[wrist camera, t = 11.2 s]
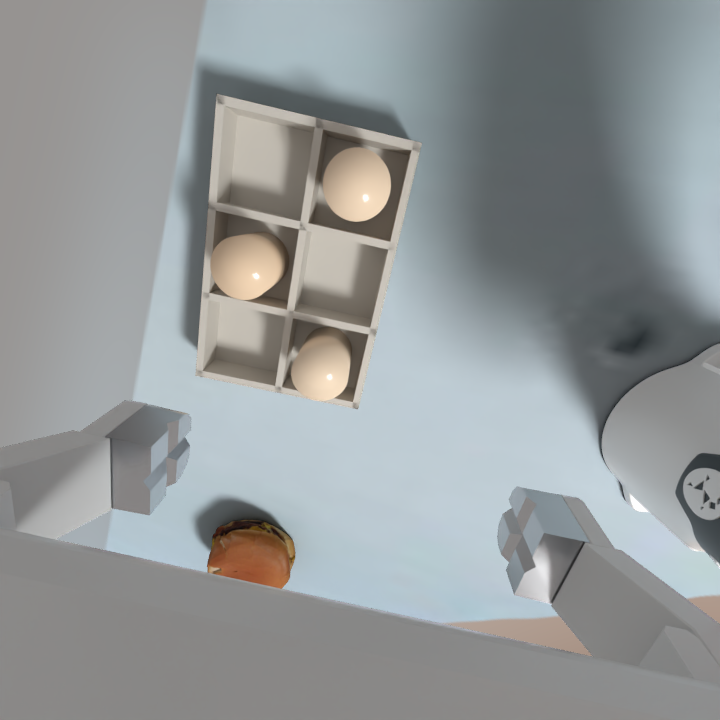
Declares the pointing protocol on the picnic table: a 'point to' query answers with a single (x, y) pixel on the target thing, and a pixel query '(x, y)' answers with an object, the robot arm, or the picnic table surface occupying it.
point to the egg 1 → (249, 264)
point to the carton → (295, 244)
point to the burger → (252, 553)
